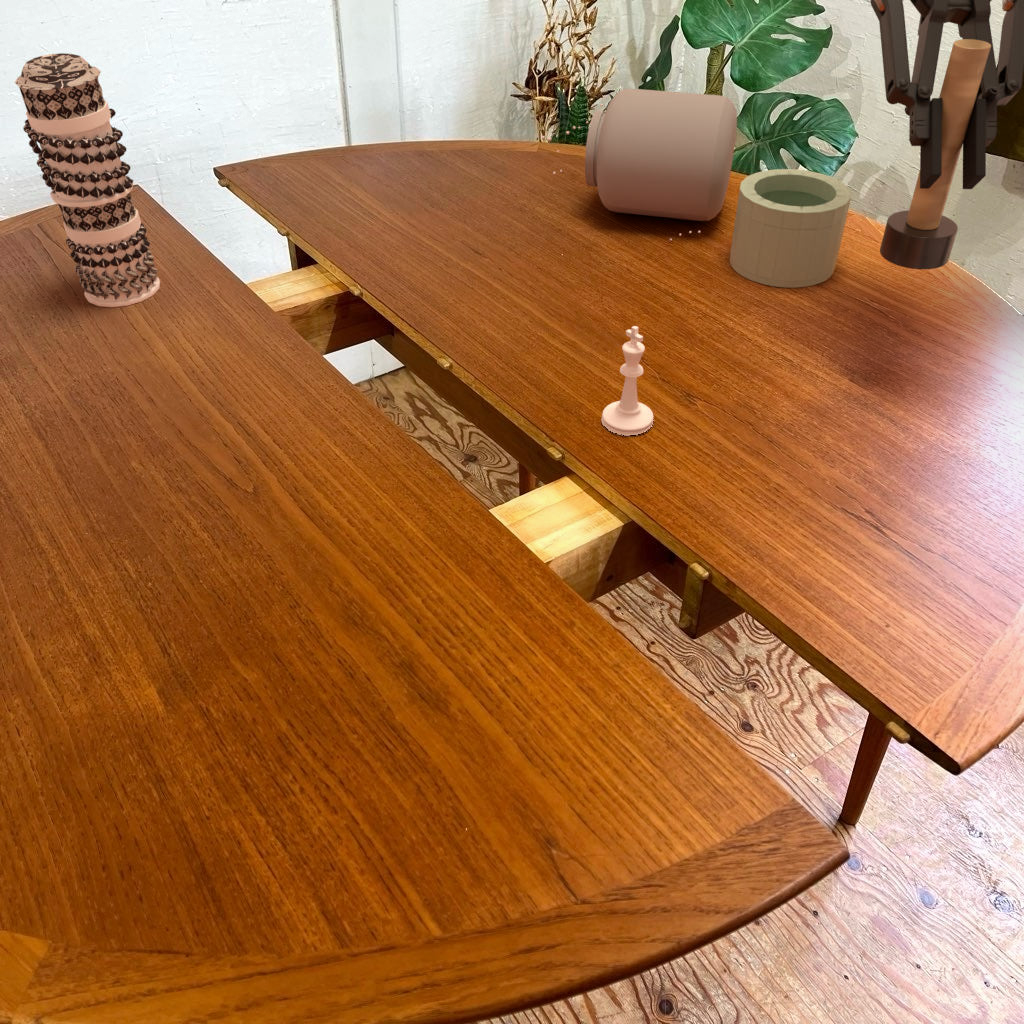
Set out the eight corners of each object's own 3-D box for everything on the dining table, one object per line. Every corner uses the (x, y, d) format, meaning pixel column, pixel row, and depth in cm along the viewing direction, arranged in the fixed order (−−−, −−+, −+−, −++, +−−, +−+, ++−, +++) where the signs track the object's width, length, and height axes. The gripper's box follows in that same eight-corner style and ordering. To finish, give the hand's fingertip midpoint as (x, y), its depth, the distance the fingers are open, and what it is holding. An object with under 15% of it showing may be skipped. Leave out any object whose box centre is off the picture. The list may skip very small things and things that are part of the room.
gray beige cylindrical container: (834, 246, 118) (850, 173, 112) (834, 292, 109) (852, 216, 103) (733, 236, 120) (743, 165, 114) (725, 281, 111) (736, 206, 105)
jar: (700, 225, 111) (506, 163, 117) (700, 274, 125) (527, 216, 131) (762, 80, 112) (567, 25, 118) (755, 145, 127) (582, 93, 132)
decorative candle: (77, 280, 113) (1, 54, 97) (158, 265, 116) (96, 42, 100) (84, 315, 107) (3, 79, 91) (169, 298, 110) (105, 66, 93)
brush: (945, 243, 90) (1007, 35, 78) (951, 272, 85) (1018, 56, 74) (878, 238, 91) (929, 31, 79) (881, 266, 86) (936, 52, 75)
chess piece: (627, 399, 93) (634, 307, 86) (664, 422, 90) (675, 328, 84) (590, 419, 91) (595, 326, 84) (627, 443, 88) (635, 348, 81)
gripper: (1029, -59, 84) (1029, 201, 83) (845, -59, 85) (841, 198, 84) (1074, -121, 77) (1074, 163, 75) (872, -120, 78) (868, 161, 76)
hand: (952, 181), depth 80 cm, fingers closed on brush, 3 cm apart
